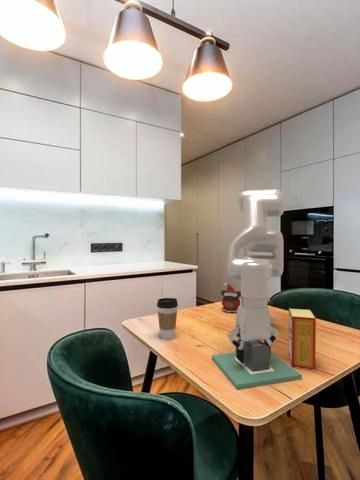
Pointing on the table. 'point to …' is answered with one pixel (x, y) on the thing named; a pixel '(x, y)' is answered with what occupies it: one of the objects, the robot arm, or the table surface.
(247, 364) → the block
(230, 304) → the red christmas figurine
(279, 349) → the table surface
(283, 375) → the pin board
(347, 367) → the table surface
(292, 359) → the baking soda box
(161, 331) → the coffee cup
